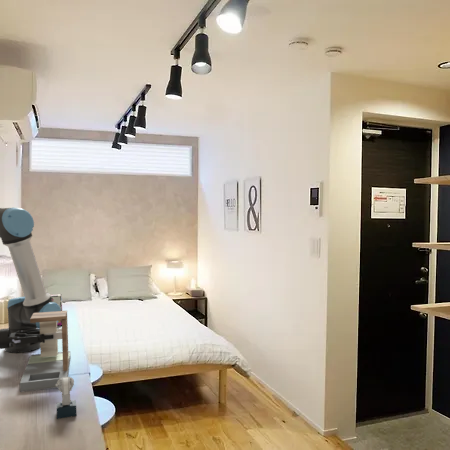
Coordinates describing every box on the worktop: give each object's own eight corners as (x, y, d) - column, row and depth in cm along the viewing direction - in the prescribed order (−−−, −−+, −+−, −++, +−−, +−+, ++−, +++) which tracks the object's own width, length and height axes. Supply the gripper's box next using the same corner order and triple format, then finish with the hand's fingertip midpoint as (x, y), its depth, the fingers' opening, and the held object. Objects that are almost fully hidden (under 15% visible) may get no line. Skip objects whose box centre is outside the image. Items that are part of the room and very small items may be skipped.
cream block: (41, 353, 188) (40, 318, 187) (57, 352, 190) (56, 317, 189) (40, 357, 183) (39, 321, 183) (57, 355, 185) (55, 320, 184)
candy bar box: (62, 323, 257) (62, 293, 256) (62, 325, 252) (61, 295, 252) (41, 325, 254) (40, 295, 253) (40, 327, 249) (39, 296, 249)
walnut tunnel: (35, 365, 178) (33, 312, 177) (68, 362, 181) (67, 310, 181) (32, 374, 168) (30, 318, 168) (67, 370, 172) (65, 316, 171)
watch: (75, 407, 146) (74, 372, 146) (76, 418, 139) (75, 381, 138) (56, 410, 144) (55, 374, 144) (56, 421, 137) (55, 383, 136)
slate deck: (31, 362, 192) (31, 354, 192) (70, 358, 196) (70, 350, 196) (20, 391, 160) (19, 382, 160) (66, 386, 164) (66, 377, 164)
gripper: (3, 342, 190) (64, 337, 196) (-6, 355, 173) (62, 349, 179) (2, 323, 190) (63, 319, 196) (-6, 335, 172) (61, 329, 179)
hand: (62, 333), depth 188 cm, fingers closed on cream block, 5 cm apart
